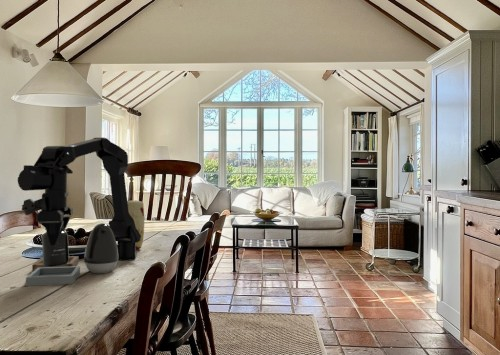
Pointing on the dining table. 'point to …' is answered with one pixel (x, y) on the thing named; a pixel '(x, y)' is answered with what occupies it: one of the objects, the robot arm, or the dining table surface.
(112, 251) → the grey egg shaped device
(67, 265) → the walnut collar
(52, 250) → the supplement bottle
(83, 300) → the dining table surface
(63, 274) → the slate tray
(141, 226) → the food model
